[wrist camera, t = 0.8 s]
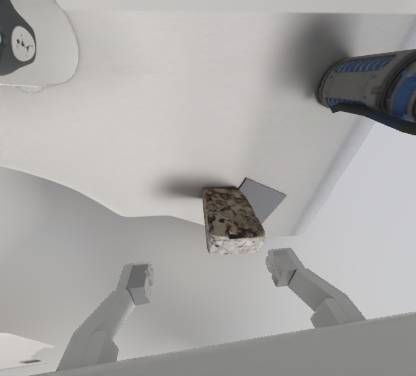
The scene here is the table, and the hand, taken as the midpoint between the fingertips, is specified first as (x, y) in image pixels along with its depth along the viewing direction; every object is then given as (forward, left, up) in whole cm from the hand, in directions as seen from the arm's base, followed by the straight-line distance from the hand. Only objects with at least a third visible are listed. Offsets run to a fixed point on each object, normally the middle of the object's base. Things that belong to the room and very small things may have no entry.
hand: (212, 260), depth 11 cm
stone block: (+18, -13, -35) cm, 41 cm away
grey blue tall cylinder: (+28, +25, -35) cm, 51 cm away
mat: (+32, -14, -35) cm, 49 cm away
